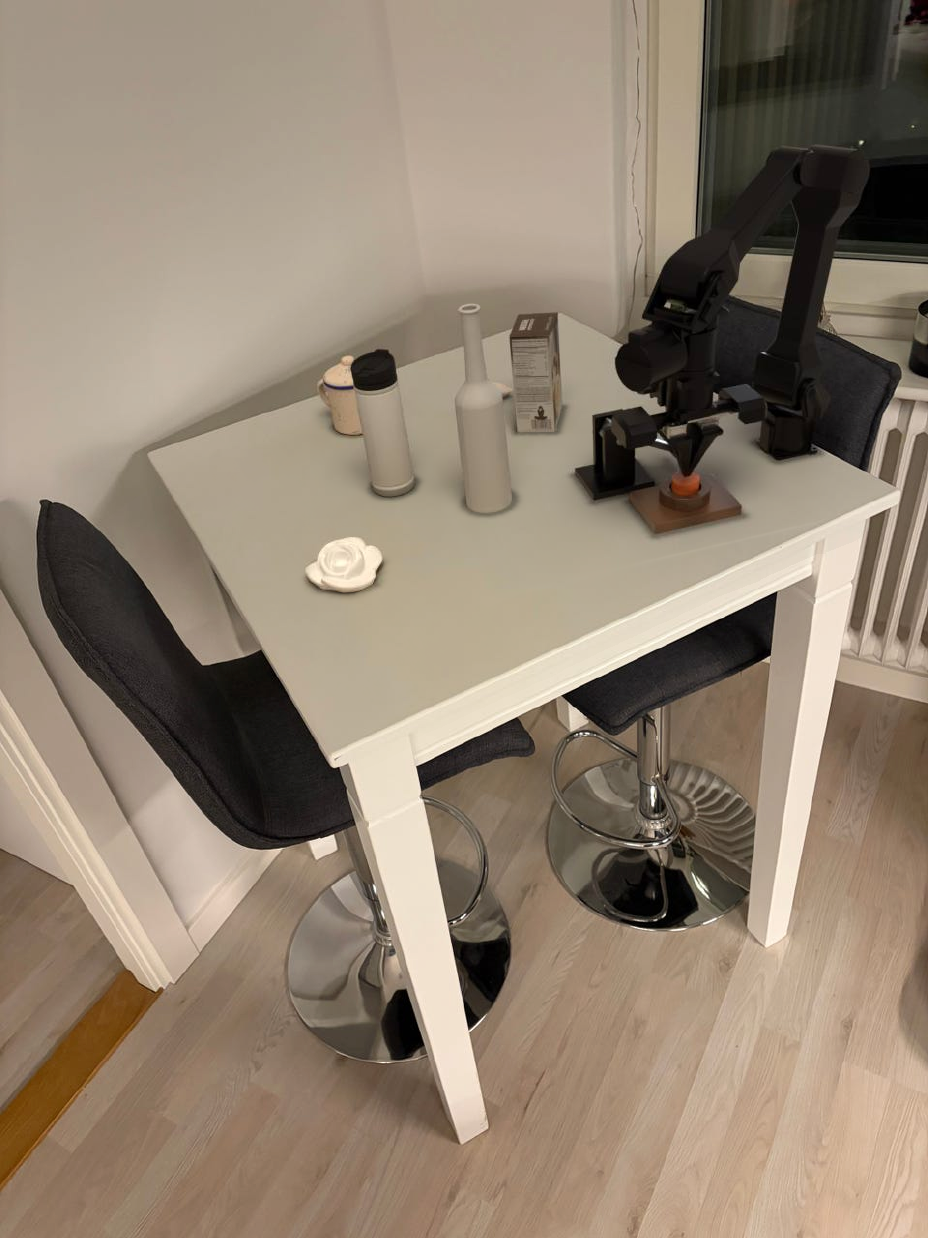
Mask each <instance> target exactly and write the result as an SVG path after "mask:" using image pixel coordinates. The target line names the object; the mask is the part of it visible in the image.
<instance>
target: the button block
mask: <svg viewBox="0 0 928 1238" xmlns="http://www.w3.org/2000/svg"><path fill="white" fill-rule="evenodd" d="M672 476H673V475H671V476H669V477H666V478H664V480H662V481H661V482H660V485H655V486H654V487H650V488H645V489H641V490H636V491H632V492H630V493H629V503H631V504H632V506H633V508H634V509H635V510H636V511H637V513H638V514H639V515H640V517H641V518H642V519H643V520H644V522H645V523H646V524H647V526H648V527H649V528H650V529H651V531H652V532H653V533H654V534H655V535H659V534H664V533H668V532H672V531H676V530H682V529H685V528H689V527H694V526H698V525H703V524H707V523H711V522H716V521H719V520H724V519H729V518H733V517H738V516H741V515H742V507H743V505H742V504H741V503H740V502H739V501H738V500H737V499H736V497H735V496H734V495H733V494H732V493H731V492H730V491H729V490H728V489H727V488H726V487H725V485H724V484H722V483H721V481H719V480H718V478H716V476H715V475H714V474H713V473H709V474H704V475H699V477H700V481H699V491H698V492H697V493H695V494H690V495H679V494H676V493H674V492H672V490H671V481H672Z"/></svg>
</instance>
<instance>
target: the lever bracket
mask: <svg viewBox="0 0 928 1238" xmlns="http://www.w3.org/2000/svg"><path fill="white" fill-rule="evenodd" d="M621 410H624V409H623V408H620V409H615V410H609V411H606V412H605V411H604V412H601V413H595V414H592V415H591V416H592V418H591V419H592V420H591V421H592V422H591V423H592V458H593V459H592V460H593V461H592V462H593V464H589V465H584V466H580V467H576V468H574V474H575V477H577V479H578V480H579V482H580V483H581V485H582V486H583V488H584V489H585V490H586V492H587V493H588V495H589V497H590V498H591V499H592V500H593V501H599V500H604V499H609V498H613V497H617V496H622V495H626V494H630V492H632V491H636V490H641V489H645V488H650V487H654V486H656V481H655V479H654V478H653V477H652V476H651V474H650V473H648V471H647V470H646V468H644V466H643V465H642V463H640V462H639V460H638V459H637V458H636V449H627V448H625V447H624V446H623V444H622V443H621V442H620V441H619V440H618V438H617V437H616V436H615V435H614V434H613V432H612V431H611V426H607V427H603V428H602V426H603V424H604V422H605V419H606V418H609V419H612V417H613V415H614V414H615V412H616V411H621ZM601 428H602V431H603V437H602V436H601V435H600V434H599V432H600V430H601Z"/></svg>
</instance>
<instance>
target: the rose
mask: <svg viewBox="0 0 928 1238" xmlns="http://www.w3.org/2000/svg"><path fill="white" fill-rule="evenodd" d="M382 562H383V555H382V553H381V551H380V549H379V548H377V547H376V546H374V545H370V544H369V545H367V544H366V542H365V541H364V540H363V539H362V538H360V537H357V536H352V537H351V536H349V537H344V538H342V539H336V540H333V541H330V542H328V543H326V544H325V545H323V547H322V548H321V549H320V551H319V552H318V555H317V558H316V561H314V562H312V563H310V564H309V565H307V566H306V567H305V569H304V570H305V575H306V577H307V579H308V580H309V581H310V582H311V583H313V584H314V585H316V586H317V587H318V588H319V589H320V590H324V591H327V590H328V591H336V592H340V593H353V592H359V591H363V590H365V589H366V588H368V587H370V586H373V584H374V583H375V579H376V578H377V570H378V569H379V567H380V565H381V564H382Z"/></svg>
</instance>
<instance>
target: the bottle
mask: <svg viewBox="0 0 928 1238" xmlns="http://www.w3.org/2000/svg"><path fill="white" fill-rule="evenodd" d="M480 310H481V305H479V304H478V303H465V304H463V305H460V306H459V307H458V310H457V311H458V313H459V316H460V325H461V326H460V327H461V336H462V345H463V346H462V347H463V358H464V359H463V360H464V378H465V379H464V382H463V384H462V386H461V387H460V388H459V390H458V391H457V393H456V394H455V396H454V407H455V409H454V410H455V416H456V417H455V418H456V425H457V435H458V445H459V453H460V463H461V471H462V478H463V488H464V489H463V490H464V497H465V504H466V507H467V508H468V509H470V510H471V511H474V512H477V513H483V514H484V513H485V514H487V513H496V512H499V511H501V510H504V509H506V508H507V507H508V506H510V505H511V503H512V501H513V493H512V480H511V472H510V461H509V452H508V451H509V450H508V449H509V448H508V440H507V430H506V420H505V419H506V418H505V409H504V397H503V398H502V393H501V392H500V390H499V389H498V388H497V387H496V386H495V385H494V384H493V382H492V381H491V380H490V379H489V377H488V372H487V365H486V359H485V353H484V346H483V337H482V329H481V328H482V327H481V317H480Z"/></svg>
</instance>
